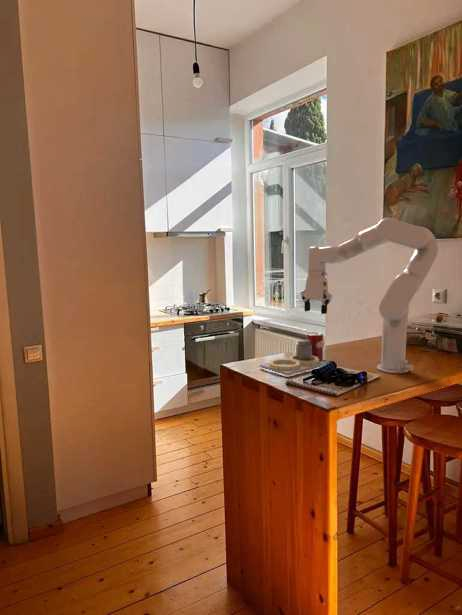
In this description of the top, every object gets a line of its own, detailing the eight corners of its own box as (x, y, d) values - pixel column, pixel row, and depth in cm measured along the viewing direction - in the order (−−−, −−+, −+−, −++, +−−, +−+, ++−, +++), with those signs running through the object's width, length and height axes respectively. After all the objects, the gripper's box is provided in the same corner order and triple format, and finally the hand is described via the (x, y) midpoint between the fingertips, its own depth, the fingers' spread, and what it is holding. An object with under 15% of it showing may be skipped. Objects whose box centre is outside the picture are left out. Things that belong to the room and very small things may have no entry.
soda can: (304, 360, 208) (305, 334, 206) (309, 356, 214) (310, 331, 212) (320, 362, 204) (320, 336, 203) (324, 358, 211) (325, 333, 209)
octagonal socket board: (328, 367, 197) (328, 359, 196) (287, 377, 181) (287, 369, 180) (300, 359, 209) (300, 352, 208) (259, 369, 193) (260, 361, 193)
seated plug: (314, 361, 198) (315, 341, 197) (304, 364, 194) (304, 343, 192) (303, 358, 203) (303, 338, 202) (293, 361, 199) (293, 340, 198)
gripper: (337, 275, 200) (336, 313, 202) (307, 273, 213) (306, 309, 215) (326, 275, 195) (325, 315, 197) (296, 273, 208) (295, 310, 210)
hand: (315, 312), depth 206 cm, fingers open, 9 cm apart
